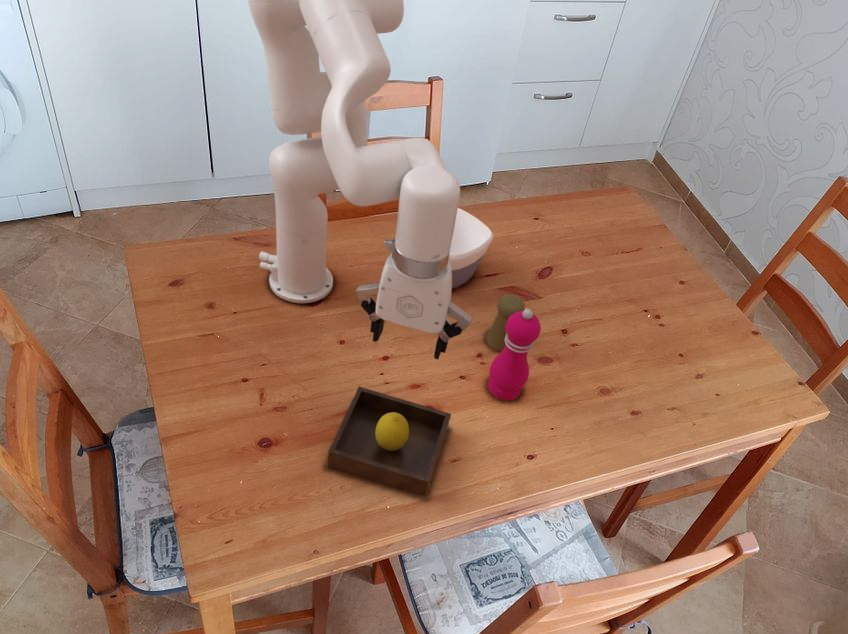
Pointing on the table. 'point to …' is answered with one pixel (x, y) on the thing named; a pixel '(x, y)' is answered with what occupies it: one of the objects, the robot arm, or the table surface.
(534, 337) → the pepper mill
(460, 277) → the bowl
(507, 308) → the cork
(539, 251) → the table surface
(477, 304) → the table surface
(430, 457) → the dark wooden tray
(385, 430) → the lemon
